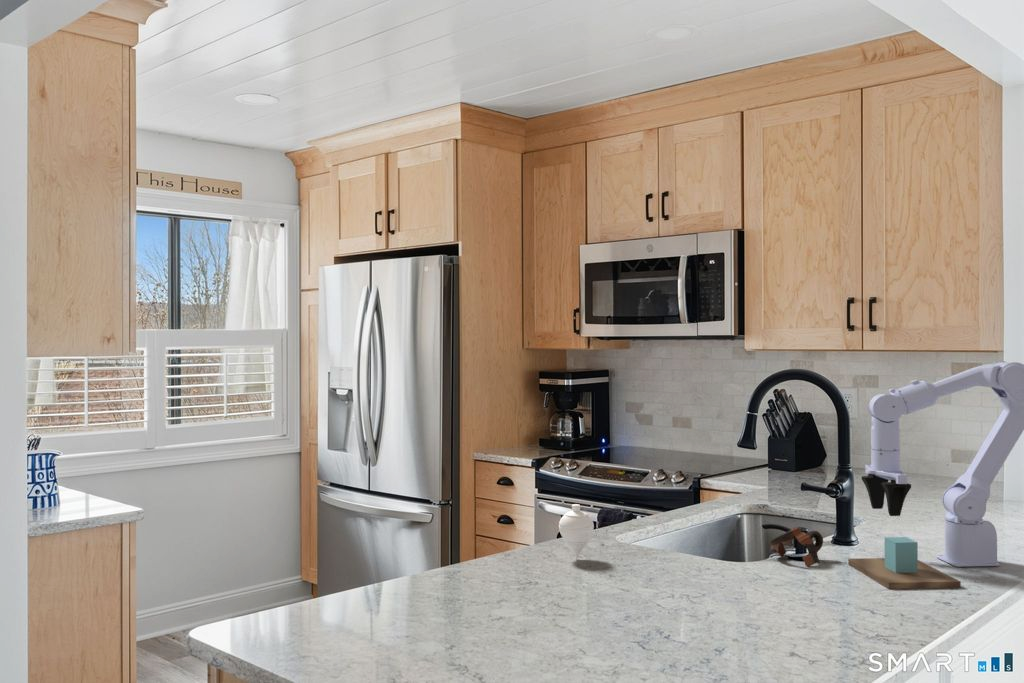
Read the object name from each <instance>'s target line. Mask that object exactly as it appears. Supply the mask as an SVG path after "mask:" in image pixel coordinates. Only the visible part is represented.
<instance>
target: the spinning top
mask: <svg viewBox="0 0 1024 683" xmlns="http://www.w3.org/2000/svg"><path fill="white" fill-rule="evenodd" d="M594 528H595V525H594V521H593V519H592V518H591V516H590V515H589V514H588V513H587V512H585V511H582V510H581V505H580V504H577V503H573V504H571V510H569V511H567V512H566V513H564V514H563V516H562V517H561V518H560V520H559V522H558V530H559V533H560V535H561V537H562V539H563V541H564V543H565V544H566V546H567V547H568V548H569V550H570V551H571V552H572V554H574V556H575V559H576V558H577V559H578V555H580V554H581V552H582V551H583V550H584V549H585V547H586V545H587V544H588V542H589V541H590V540H591V537H592V536H593V533H594Z"/></svg>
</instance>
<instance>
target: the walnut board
mask: <svg viewBox="0 0 1024 683" xmlns="http://www.w3.org/2000/svg"><path fill="white" fill-rule="evenodd" d="M847 561H848V565H849V566H850V567H852V568H854V569H855V570H857V571H858V572H860V573H862V574H863V575H865V576H867V577H868V578H870V579H872V580H873V581H874V582H876V583H878V584H880V585H882V586H883V587H885V588H886V589H888V590H905V589H906V590H907V589H909V588H910V589H909V590H911V589H912V590H915V589H914V588H918V590H919V588H921V589H958V588H959V589H961V587H962V586H961V581H960V580H958V579H957V578H955V577H953V576H951V575H949V574H947V573H945V572H942V571H941V570H939V569H937V568H935V567H932V566H931V565H929V564H926V563H924V562H923V561H921V560H919V559H918V572H910V573H895V572H893V571H891V570H890V569H888V568H886V567H885V557H880V558H879V557H874V558H873V557H872V558H867V557H866V558H865V557H863V558H861V557H860V558H848V560H847Z"/></svg>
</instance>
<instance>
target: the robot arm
mask: <svg viewBox="0 0 1024 683" xmlns="http://www.w3.org/2000/svg"><path fill="white" fill-rule="evenodd" d="M973 387H985V388H991V390H993V392H994V393H995V394H996V395H997V397H998V398H999V402H1000V403H1001V406H1002V408H1003V409H1002V412H1001V413H1000V415H999V416H998V418H997V420H996V421H995V423H994V424H993V427H992V428H991V429H990V431H989V434H988V435H987V437H986V438H985V439H984V441H983V443H982V444H981V447H980V448H979V449H978V451H977V452H976V455H975V456H974V458H973V460H972V461H971V463H970V465H969V466H968V468H967V470H966V471H965V473H963V474H962V475H960V476H959V477H958V478H957V479H956V481H955V483H953V485H951V486H949V487H948V488H946V489H945V490H944V491H943V494H942V496H941V502H942V505H943V507H944V509H945V510H946V514H945V516H944V554H937V555H936V558H937V559H940V560H941V561H944V562H945V563H948V564H950V565H952V566H954V567H957V568H958V567H999V566H1000V563H999V562H998V534H997V530H996V527H995V525H994V524H993V523H992V522H991V521H990V520H986V519H985V520H984V519H983V518H984V516H985V515H986V512H987V502H988V499H989V498H990V496H991V485H992V483H993V482H994V480H995V478H996V476H997V475H998V473H999V471H1000V470H1001V468H1002V467H1003V465H1004V463H1005V462H1006V460H1007V459H1008V456H1010V453H1011V452H1012V450H1013V449H1014V447H1015V445H1016V443H1017V442H1018V441H1019V438H1020V437H1021V436H1022V434H1023V432H1024V364H1023V363H1022V362H1015V361H1012V362H1008V361H1002V360H999V361H995V362H992V363H991V364H989V363H988V364H982V365H979V366H975V367H972V368H969V369H966V370H964V371H961V372H958V373H956V374H954V375H951V376H948V377H945V378H943V379H940V380H938V381H935V382H933V383H931V382H928V381H926V380H920V381H919V380H917V379H914V380H911V381H910V384H908V385H905V386H902V387H900V388H897V389H895V388H890V389H888V391H889V392H888V393H887V394H885V393H879V394H876V395H874V396H873V397H872V398H871V400H870V401H869V402H868V403H869V404H868V406H867V410H868V412H869V414H870V416H871V427H870V448H871V449H870V455H871V456H870V457H871V458H870V459H871V462H870V464H865V474H866V475H863V476H861V481H862V482H863V484H864V485H865V488H866V492H867V493H868V497H869V501H870V505H871V508H872V509H873V510H880V509H881V510H882V509H883V508H884V503H885V497H886V502H887V503H886V504H887V505H886V506H887V512H888V516H890V517H900V516H901V514H902V511H903V505H904V503H905V500H906V497H907V495H908V494H909V492H910V490H911V489H912V484H911V483H908V474H906V473H904V472H903V470H901V463H900V462H901V450H900V449H901V448H900V447H901V439H900V438H901V436H900V418H901V417H902V415H904V416H906V415H909V414H912V413H915V412H917V411H921V410H924V409H927V408H930V407H933V406H935V404H936V402H937V400H938V399H939V398H940V397H943V396H947V395H951V394H953V393H957V392H960V391H964V390H967V389H971V388H973Z"/></svg>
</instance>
